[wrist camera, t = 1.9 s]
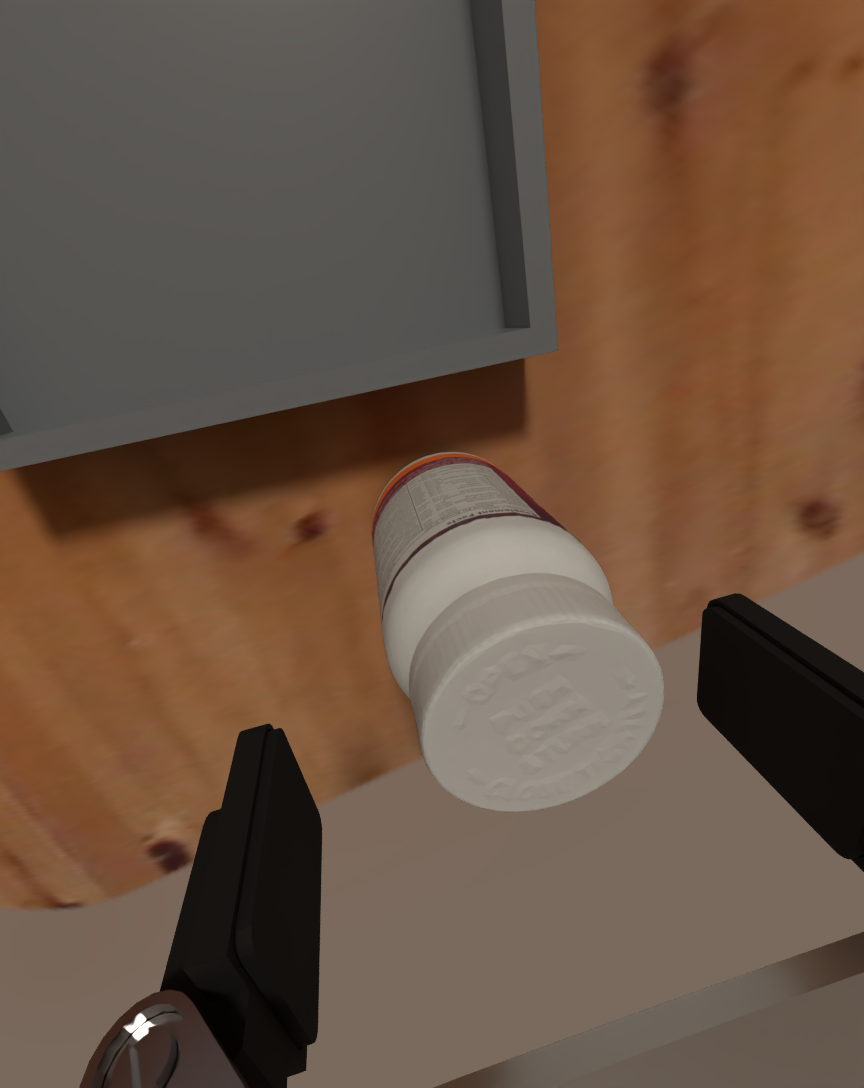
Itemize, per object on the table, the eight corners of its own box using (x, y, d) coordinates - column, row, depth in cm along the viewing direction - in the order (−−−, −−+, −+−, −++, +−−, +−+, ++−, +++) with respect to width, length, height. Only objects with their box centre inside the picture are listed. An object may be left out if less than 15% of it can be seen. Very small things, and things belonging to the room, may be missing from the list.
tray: (434, -598, 10) (470, -967, 7) (524, 347, 17) (557, 350, 15) (-552, -522, 9) (-987, -933, 6) (13, 456, 16) (-56, 483, 14)
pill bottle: (527, 564, 21) (693, 782, 11) (393, 604, 21) (437, 865, 11) (504, 428, 19) (694, 551, 8) (349, 472, 18) (353, 653, 8)
